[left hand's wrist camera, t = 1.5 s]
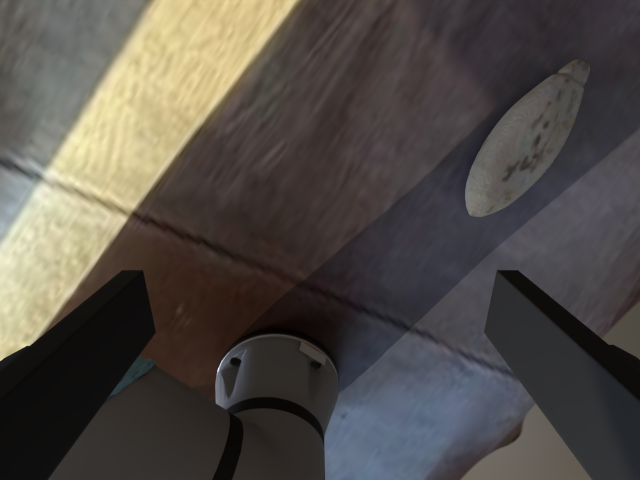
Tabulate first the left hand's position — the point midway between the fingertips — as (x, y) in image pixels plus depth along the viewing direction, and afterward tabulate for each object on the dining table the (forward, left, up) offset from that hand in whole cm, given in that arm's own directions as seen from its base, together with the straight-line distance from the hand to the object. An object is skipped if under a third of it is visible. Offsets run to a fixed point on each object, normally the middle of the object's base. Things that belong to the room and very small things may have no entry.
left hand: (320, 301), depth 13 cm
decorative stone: (+4, -18, -23) cm, 30 cm away
